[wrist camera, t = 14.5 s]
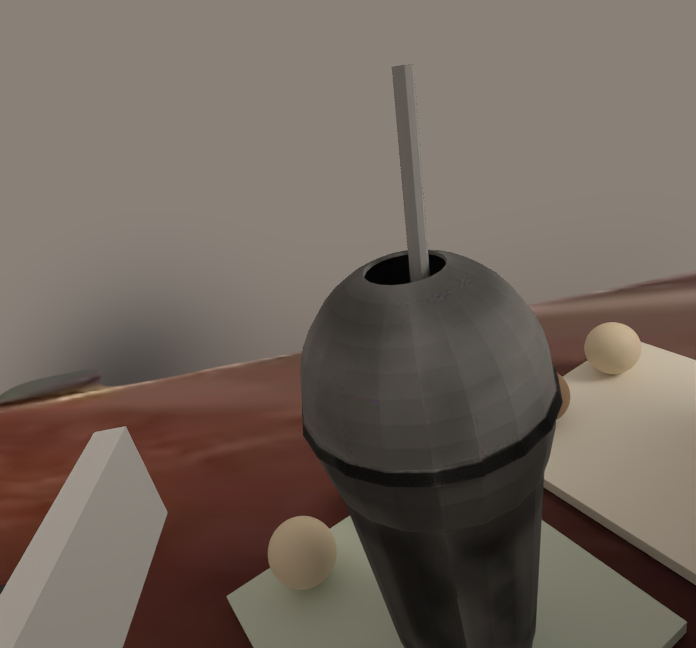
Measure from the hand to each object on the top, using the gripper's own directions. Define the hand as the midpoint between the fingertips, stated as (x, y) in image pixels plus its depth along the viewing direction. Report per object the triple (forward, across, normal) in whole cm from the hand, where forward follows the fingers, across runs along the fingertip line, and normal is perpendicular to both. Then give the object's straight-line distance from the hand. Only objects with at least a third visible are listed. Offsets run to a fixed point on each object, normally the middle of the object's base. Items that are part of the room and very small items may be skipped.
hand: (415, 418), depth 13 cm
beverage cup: (+3, 0, -13) cm, 13 cm away
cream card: (+12, +12, -14) cm, 22 cm away
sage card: (+5, -1, -14) cm, 14 cm away
